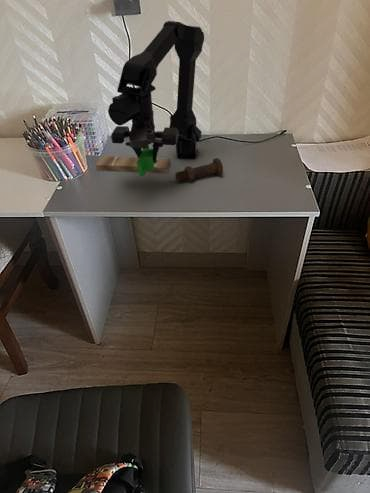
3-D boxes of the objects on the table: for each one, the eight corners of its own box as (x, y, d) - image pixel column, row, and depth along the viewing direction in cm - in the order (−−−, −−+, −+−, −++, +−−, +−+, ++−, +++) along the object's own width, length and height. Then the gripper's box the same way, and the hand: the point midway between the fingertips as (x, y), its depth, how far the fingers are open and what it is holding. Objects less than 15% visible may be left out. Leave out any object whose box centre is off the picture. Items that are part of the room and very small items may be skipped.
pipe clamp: (152, 176, 110) (148, 162, 107) (140, 177, 111) (136, 163, 108) (159, 156, 118) (156, 143, 115) (148, 157, 119) (144, 144, 116)
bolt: (176, 186, 121) (219, 175, 124) (180, 186, 116) (224, 175, 119) (172, 168, 120) (215, 157, 123) (175, 168, 115) (221, 157, 118)
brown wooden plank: (170, 164, 128) (169, 158, 126) (167, 173, 123) (166, 167, 122) (102, 161, 131) (101, 155, 129) (97, 170, 126) (95, 164, 125)
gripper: (100, 122, 98) (110, 174, 109) (170, 124, 96) (174, 177, 106) (112, 106, 106) (121, 155, 117) (177, 107, 104) (180, 158, 114)
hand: (148, 161), depth 113 cm, fingers closed on pipe clamp, 4 cm apart
